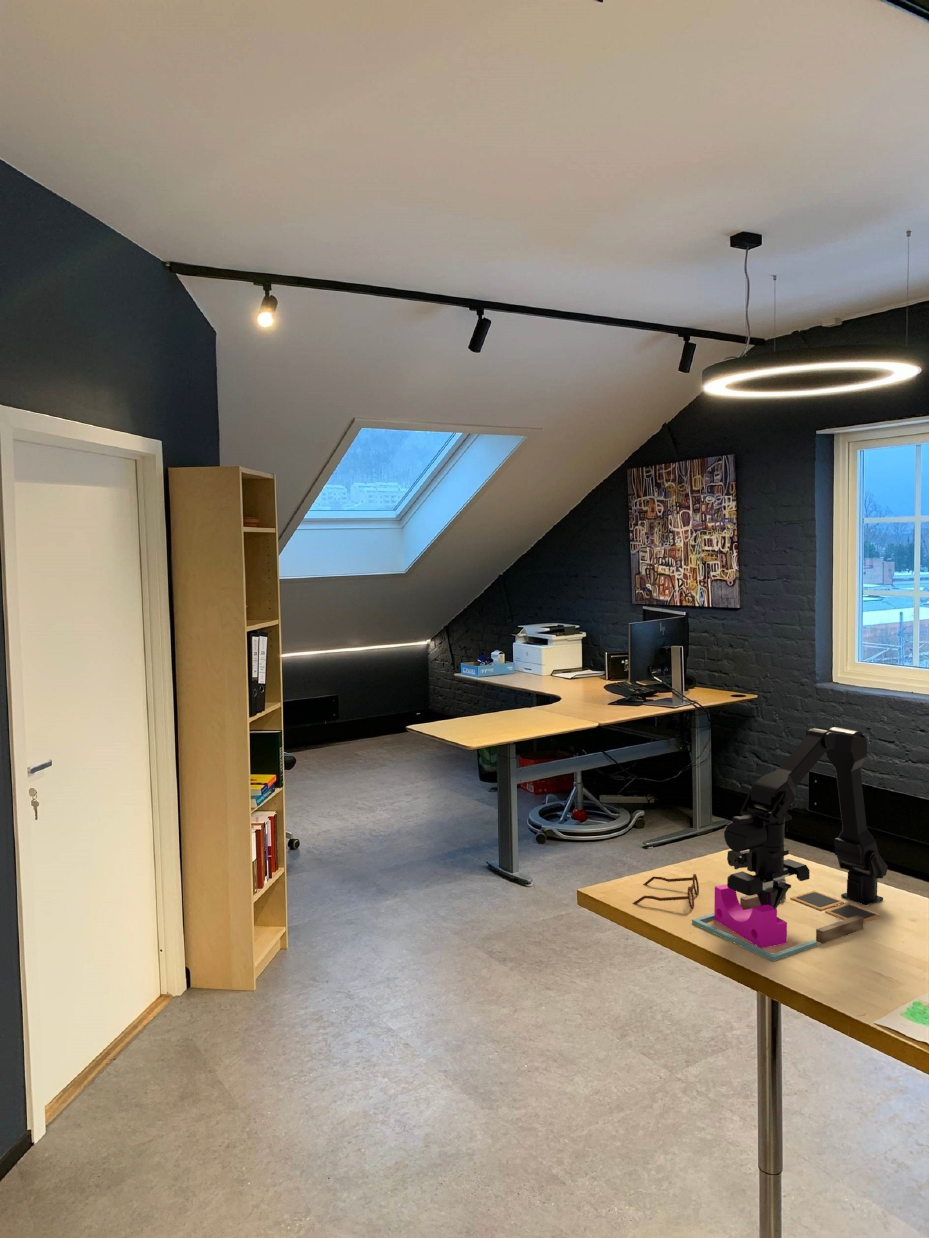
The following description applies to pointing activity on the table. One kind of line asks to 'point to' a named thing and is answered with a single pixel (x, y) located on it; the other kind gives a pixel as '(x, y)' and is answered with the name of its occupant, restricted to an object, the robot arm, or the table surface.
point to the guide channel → (824, 932)
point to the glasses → (690, 889)
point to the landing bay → (751, 947)
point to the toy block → (749, 919)
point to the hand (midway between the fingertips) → (768, 917)
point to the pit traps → (825, 902)
